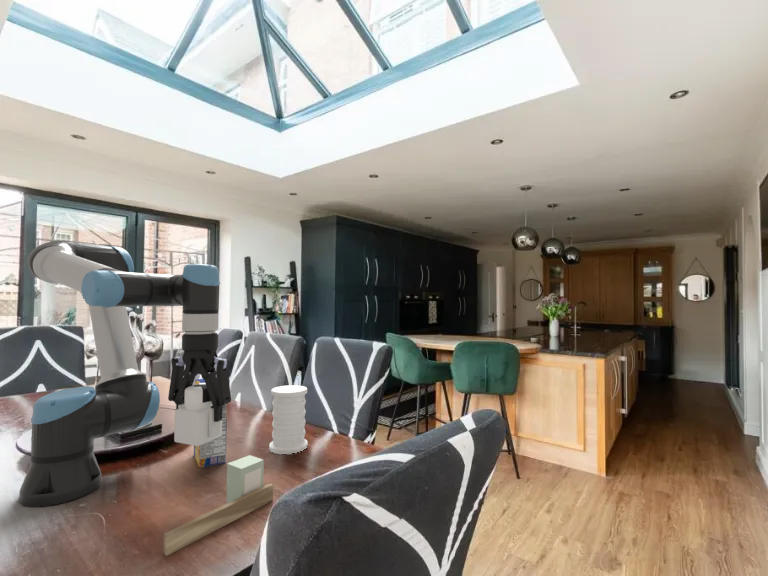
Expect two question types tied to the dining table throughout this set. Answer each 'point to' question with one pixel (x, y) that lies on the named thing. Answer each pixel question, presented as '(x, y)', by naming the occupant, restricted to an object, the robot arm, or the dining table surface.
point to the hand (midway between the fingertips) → (198, 434)
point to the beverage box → (212, 444)
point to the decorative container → (288, 419)
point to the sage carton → (244, 476)
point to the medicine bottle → (194, 417)
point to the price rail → (215, 519)
